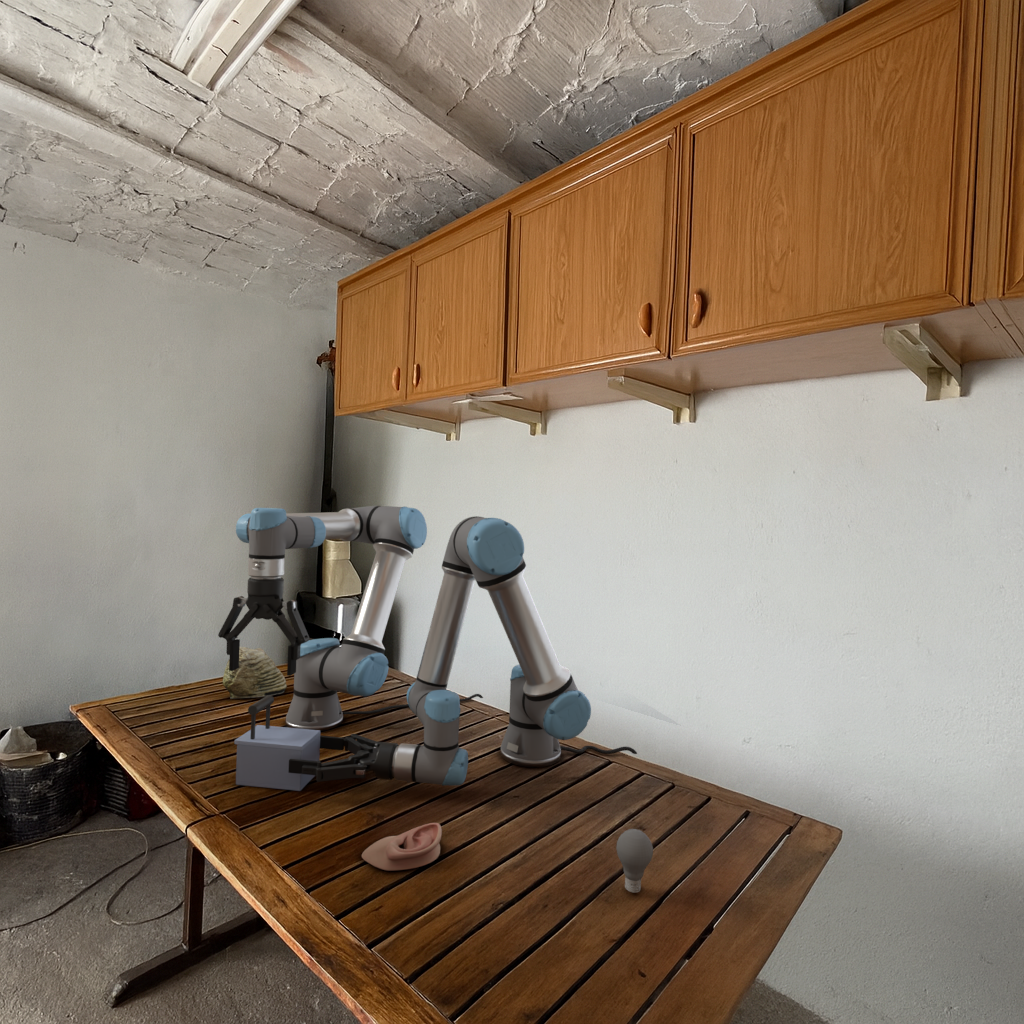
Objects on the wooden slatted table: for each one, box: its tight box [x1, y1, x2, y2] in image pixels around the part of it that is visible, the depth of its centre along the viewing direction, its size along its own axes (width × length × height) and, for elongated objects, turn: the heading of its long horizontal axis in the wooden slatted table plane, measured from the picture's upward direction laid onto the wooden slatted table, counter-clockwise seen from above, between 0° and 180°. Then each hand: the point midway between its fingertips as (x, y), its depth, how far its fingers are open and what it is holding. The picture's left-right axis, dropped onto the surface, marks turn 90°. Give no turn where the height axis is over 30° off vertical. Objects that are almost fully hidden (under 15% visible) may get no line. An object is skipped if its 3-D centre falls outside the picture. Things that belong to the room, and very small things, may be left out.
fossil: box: [222, 646, 288, 699], centre depth 198 cm, size 9×18×15 cm, turn 132°
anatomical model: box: [361, 822, 443, 872], centre depth 114 cm, size 13×4×12 cm
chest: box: [235, 734, 321, 792], centre depth 141 cm, size 15×10×9 cm, turn 83°
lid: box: [234, 695, 321, 750], centre depth 141 cm, size 15×10×8 cm, turn 83°
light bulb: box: [615, 828, 654, 894], centre depth 106 cm, size 6×6×10 cm
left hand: (262, 671), depth 142 cm, fingers open, 13 cm apart
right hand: (303, 753), depth 141 cm, fingers open, 13 cm apart
